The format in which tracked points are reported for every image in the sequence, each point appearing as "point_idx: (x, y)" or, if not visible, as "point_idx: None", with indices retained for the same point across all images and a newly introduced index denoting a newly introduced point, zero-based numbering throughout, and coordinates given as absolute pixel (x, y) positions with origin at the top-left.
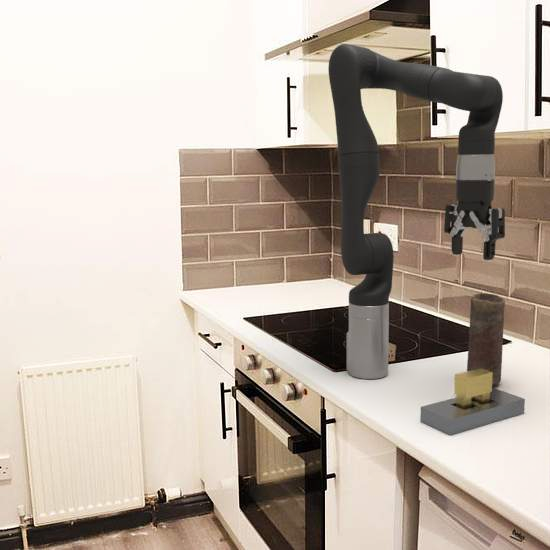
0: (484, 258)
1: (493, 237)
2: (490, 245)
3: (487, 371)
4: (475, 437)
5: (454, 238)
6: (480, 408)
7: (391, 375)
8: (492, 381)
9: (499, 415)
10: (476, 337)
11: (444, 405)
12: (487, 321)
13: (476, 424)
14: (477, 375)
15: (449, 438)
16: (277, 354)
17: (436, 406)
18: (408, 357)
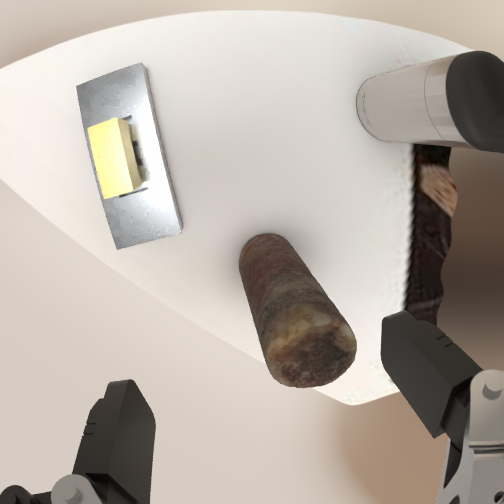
0: (120, 381)
1: (16, 494)
2: (76, 460)
3: (110, 191)
4: (68, 122)
5: (453, 378)
6: None
7: (364, 137)
8: (239, 264)
9: None
10: (275, 272)
11: (130, 102)
12: (265, 308)
13: None
14: (95, 158)
15: None
16: None
17: (132, 87)
18: (422, 218)
